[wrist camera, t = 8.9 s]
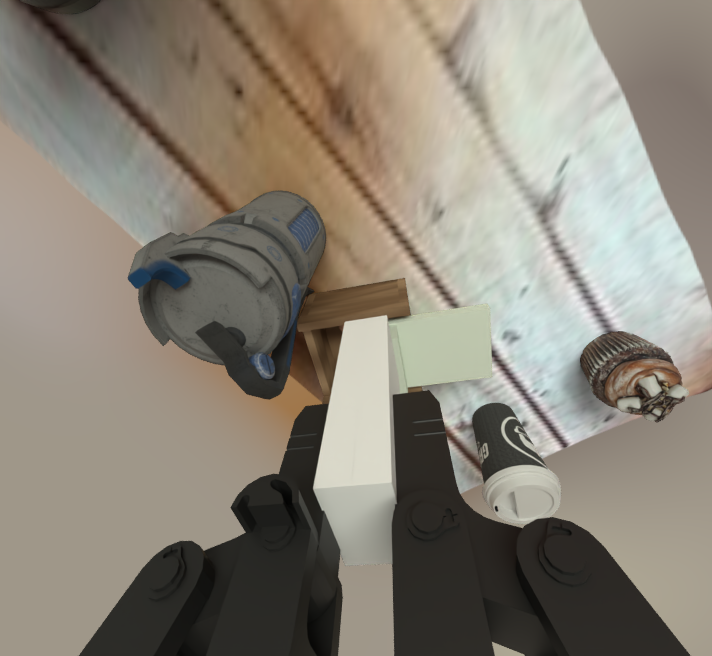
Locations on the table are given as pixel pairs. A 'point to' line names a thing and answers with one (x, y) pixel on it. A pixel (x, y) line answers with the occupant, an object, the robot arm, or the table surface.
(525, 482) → the coffee cup
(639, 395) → the cupcake
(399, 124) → the table surface
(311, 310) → the box
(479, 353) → the lid
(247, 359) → the beverage bottle
